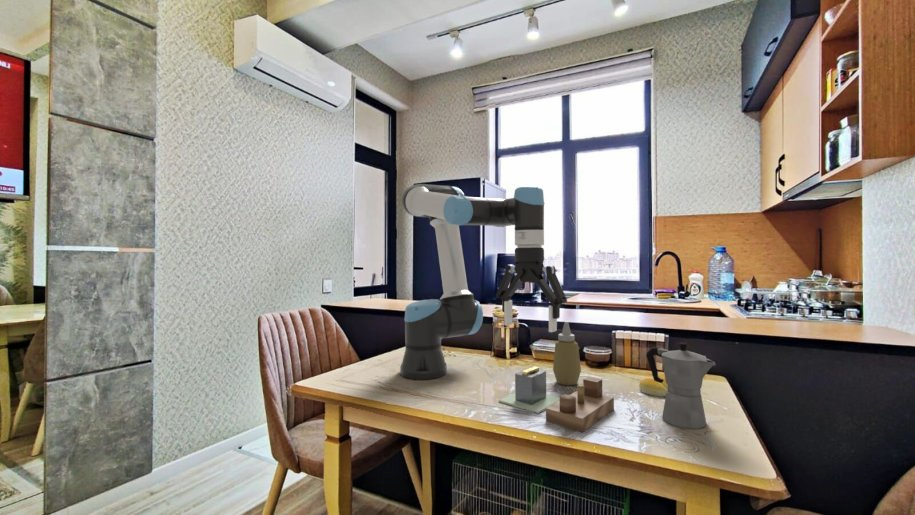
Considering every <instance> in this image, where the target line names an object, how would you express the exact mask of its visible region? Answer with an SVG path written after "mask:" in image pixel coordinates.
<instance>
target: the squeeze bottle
mask: <svg viewBox="0 0 915 515" xmlns="http://www.w3.org/2000/svg"><path fill="white" fill-rule="evenodd" d="M562 326H563V327H562V331H561V332H562V333H558V335H557V336H558V337H557V338H558V340H557V341H556V342H555V344H554V354H553V355H554V356H553V365H552V371H553V374H554V377H555V378H554V379H555V381H556V382H557V384H559V385H563V386H574V385H578V382H579V378H580V375H581V373H582V367H581V360H580V351H579V344H578V342H576V340H575V339H576V338H575V335H576V334H573V333H572V332H571V327H570V323H569V321H564V323H563V325H562Z"/></svg>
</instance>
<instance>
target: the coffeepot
mask: <svg viewBox="0 0 915 515" xmlns="http://www.w3.org/2000/svg"><path fill="white" fill-rule="evenodd" d="M687 346H688V343H687V342H684V341H683V342H679V347H680V349H678V350H668V349H665V348H659V347H654V346H653V347H652V346H651V348H650V349H649V350H648V351H646V359H647V362H648V365H649V368H650V371H651V374H652V375H651V376H652V379H653V378H654V380H655V381H656V382H659V383H662V382H663V379H660V378H659V377H660V376H659V372H658V368H657V365H656V359H655V357H654V356H657V357H660V358H661V360H662V367H663V371H664V372H663V373H664V374H663V375H664V378H665V380H666V383H667V384H668V386H667V392H666V396H665V398H664V399H665V400H664V405H663V410H662V416H661V419H662V420H663V421H664V422H666V423H667V424H669V425H672V426H674V427H677V428H682V429H687V430H698V429H699V430H700V429H703V428H705V427H706V423H707V420H706V413H705V408H704V404H703V397H702V393H701V392H702V391H701V389H702V386H703V380H704V378H705V376H706V374H707V373H708V372H709V371H710V369H711V368H713V366H716V362H715V361H713V360H712V359H709V358H707V356H706V355H702V354H699V353H696V352H693V351H690V350H687V348H688V347H687Z"/></svg>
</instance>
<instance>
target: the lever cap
mask: <svg viewBox="0 0 915 515" xmlns="http://www.w3.org/2000/svg"><path fill="white" fill-rule="evenodd" d="M514 379H515V381H514V384H515V385H514V389H515V390H514V393H515V400H516V401H519V402H523V403H526V404H530V405H533V404H535V403H537V402H539V401H541V400H543V399H545V398H546V394H547V371H546V370H542V369H540V367H539V366H535V365H534V366H532V367H529V368H526V369H524V370H521V371H518V372H516V373H515V374H514Z"/></svg>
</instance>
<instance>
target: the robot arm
mask: <svg viewBox="0 0 915 515" xmlns="http://www.w3.org/2000/svg"><path fill="white" fill-rule="evenodd" d="M544 196H545V195H544V190H543V188H541V187H539V186H529V185H527V186H518V187H517V188H515V190H514V195H513V197H510V198H492V197H477V196H475V197H474V196H467V195H465V193H464V192H463V191H462V189H460V188H459V187H458V186H451V185H440V184H438V185H437V184H426V183H418V184H413V185H412V184H411V185H410V186H409V187H407V188H406V189H405V190H404V191H403V192H402V195H401V198H400V202H401V206H402V209H403V210H404V212H405V213H407V214H409V215H410V216H414V217H417V218H419V217H420V218H429V225H430V226H432V227H433V228H434V231H435V237H436V245H437V246H436V247H437V253H438V262H439V268H440V275H441V282H442V283H441V285H442V292H443V294H442V295H441V297H440V298H439V299H434V298H430V299H422V300H416V301H413V302H410V303H409V304H408V305H406V307H405V309H404V310H405V311H404V319H403V320H404V336H405V337H404V338H405V339H404V340H405V341H404V342H405V345H404V346H405V349H404V353H403V354H404V355H403V358H402V360H401V361H402V362H401V365H400V369H399V370H400V376H401V377H403V378H406V379H410V380H421V381H422V380H431V379H438V378H442V377H443V376H444V375H446V374H447V373H448V367H447V366H448V364H447V362H446V361H445V356H444V353H443V350H442V339H448V338H453V337H454V338H455V337H467V336H468V335H474V334H476V333H478V331H479V330H480V328H481V327H482V324H483V319H484V312H483V311H484V310H483V307H482V305H481V303H480V301H478V300H476V299H475V296H474V293H473V292H471V291H470V290H469V288H468V282H467V281H468V280H467V275H466V267H465V260H464V253H463V245H462V239H461V233H460V232H461V231H460V226H489V227H490V226H491V227H496V228H497V227H498V228H499V227H500V228H504V227H507V226H508V227H509V226H510V227H511V226H514V246H515V249H514V262H515V265H514V264H506V265H505V267H504V274H503V276H502V279H501V281H500V284H499V287H498V288H497V292H496V293H495V297H496V298H497V299H500V300H501V303H502V306H501V308H502V309H501V310H502V313H503V314H504V318H503V319H504V320H503V322H504V323H503V324H504V326H505V327H507V326H511V325H513V300H512V297H513V295H514V294H515V293H516V291H517V289H519V287H520V286H521V284H522V283H530V284H534V283H535V284H536V285H537V286H538V287H539V289H540V290H541V292H542V293H543V294H544V296H545V297H546V299H547V300H548V302H549V303H550V305H548V333H554V332H557V331H558V329H557V328H558V319H560V317H561V316H560V315H561V311H560V309H561V305H563V304H567V302H568V299H567V297H566V294H565V292H564V290H563V287H562V285H561V283H560V280H559V279H558V277H557V273H556V272H557V271H556V267H555V265H547V266H545V265H544V262H545V249H544V247H542V246H544V245H545V230H544V228H545V224H544V222H545V198H544ZM516 246H517V247H516ZM514 273H515V274H516V275H515V276H514ZM543 274H545V275H546V277H544V275H543ZM513 277H514V278H513ZM546 278H547V279H546ZM547 280H548V282H549V284H548V283H547ZM511 281H512V282H511Z"/></svg>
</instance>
